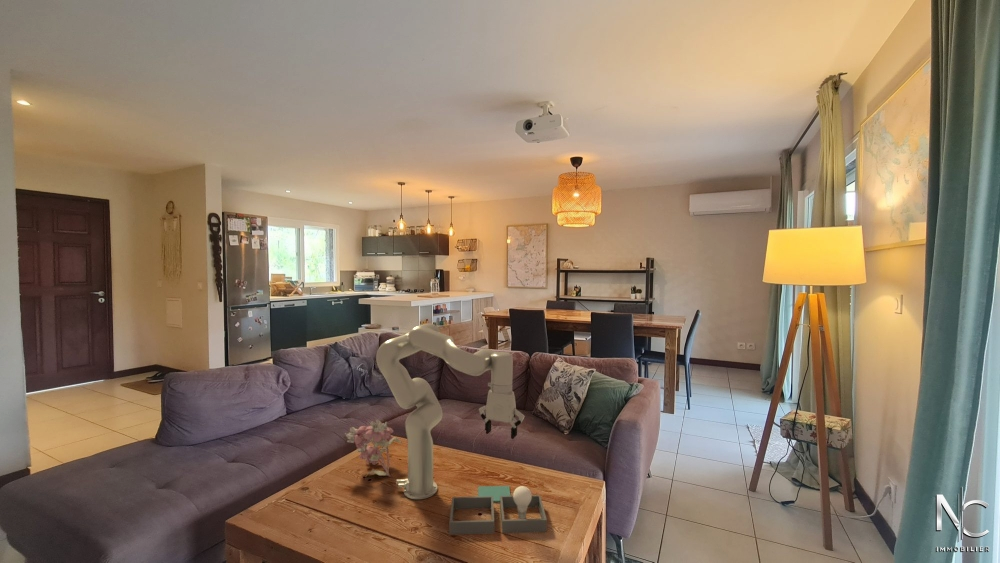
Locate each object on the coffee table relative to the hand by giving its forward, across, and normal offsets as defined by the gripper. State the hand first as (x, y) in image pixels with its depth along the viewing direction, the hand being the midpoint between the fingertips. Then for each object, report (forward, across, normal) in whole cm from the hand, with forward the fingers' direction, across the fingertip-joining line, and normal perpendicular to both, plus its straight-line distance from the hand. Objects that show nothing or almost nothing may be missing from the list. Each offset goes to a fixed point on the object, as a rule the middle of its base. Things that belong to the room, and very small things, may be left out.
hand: (500, 435), depth 147 cm
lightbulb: (+26, +10, -4) cm, 28 cm away
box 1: (+26, -5, -11) cm, 29 cm away
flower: (+27, -59, +4) cm, 65 cm away
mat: (+26, -5, +6) cm, 27 cm away
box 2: (+26, +10, -4) cm, 28 cm away
